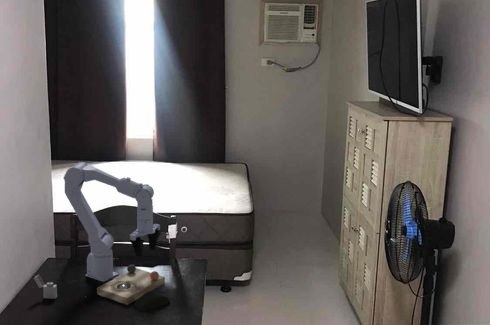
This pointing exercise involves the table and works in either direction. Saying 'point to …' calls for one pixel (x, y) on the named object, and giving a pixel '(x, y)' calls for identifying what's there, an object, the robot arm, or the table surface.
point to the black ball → (131, 268)
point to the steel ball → (123, 287)
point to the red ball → (154, 275)
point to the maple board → (130, 286)
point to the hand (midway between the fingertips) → (145, 252)
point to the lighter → (47, 288)
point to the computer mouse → (151, 300)
